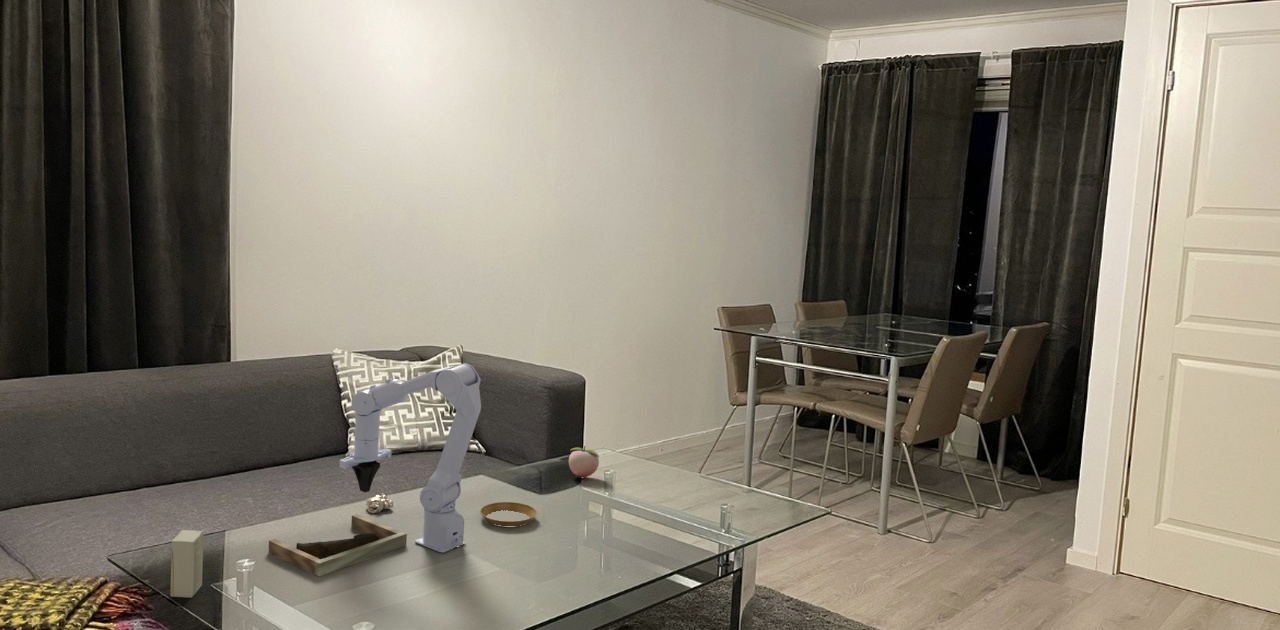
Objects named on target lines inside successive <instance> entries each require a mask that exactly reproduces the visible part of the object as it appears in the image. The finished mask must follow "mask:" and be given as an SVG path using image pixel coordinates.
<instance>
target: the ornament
mask: <svg viewBox="0 0 1280 630" xmlns="http://www.w3.org/2000/svg"><path fill="white" fill-rule="evenodd" d="M366 506H367V512H368V513H370V514H376V513H380V512H382V511H383V510H384V509H385V510H386V509H391V508H393V507H394V501H393V500H392V499H390V498H388V496H387V494H385V493H384V492H382V493H381V495H379V494H376V495H375V496H371V497H369V498H367V499H366Z"/></svg>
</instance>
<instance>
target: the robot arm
mask: <svg viewBox="0 0 1280 630" xmlns="http://www.w3.org/2000/svg"><path fill="white" fill-rule="evenodd" d="M481 381H482V380H481V377H480V376H479V374H478V372H477V370H476V369H475V368H474V366H473V365H471V364H469V363H461V364H459V365H457V366H456V365H451V366H447V367H442V368H438V369H434V370H431V371H429V372H426V373H423V374H421V375H418V376H416V377H413V378H411V379H408V380H406V381H402V380H400V379H397V378H396V379H394V378H392V377H391V378H387V379H385V382H383V383H381V384H379V385H376V384H373V385H370V386H369V388H368V389H365V390H362V391H361V390H359V391H358V392H356V393H355V394H354V395H353V396H352V398H351V401H350V402H351V403H350V404H351V407H352V410H353V411H354V413H355V420H354V422H355V423H354V450H353V452H352V454H350V455H349V456H347V457H344V458H342V459H339V467H338V468H339V469H343V470H347V469H349V468H352V470H353V472H354V474H355V477H356V479H357V483H358V484H357V485H358V488H359V491H360V492H363V493H369V492H370V490H371V487H372V484H373V481H374V478H375V476H376V474H377V473H378V471H379V469H380V468H381V463H380V462H378V461H380V460H383V459H391V458H392V452H393V451H392V449H388V448H383V449H379V447H380V446H379V445H380V444H379V443H380V424H381V423H380V422H381V421H380V420H381V418H380V417H381V416H382V415H381V413H382V410H384V409H387V408H388V407H392V406H395V405H397V404H401V403H403V402H405V401H406V400H407V399H408V395H409V394H412V393H416V392H420V391H421V390H425V389H428V388H429V389H430V388H431V390H433V391H435V392H436V391H438V392H439V393H440V394H441V395H442V396H443V397H444V398H445V400H447V401H448V402H449V404H451V406H453V408H454V409H455V415H454V418H453V421H452V424H451V426H450V429H449V432H448V435H447V438H446V441H445V444H444V447H443V450H442V452H441V455H440V458H439V461H438V465H437V467H436V469H435V471H434V472H433V473H432V475H431V476H430V478H429V479H428V482H427V484H426V486H424V487H423V488H422V489H421V491H420V494H419V500H420V504H421V506H422V507H423V509H424V512H423V515H424V516H423V530H422V531H423V532H422V533H423V535H422V537H421V538H418V539H415V540H414V543H416V544H418V545H421V546H423V547H426V548H428V549H430V550H433V551H435V552H439V553H440V552H441V554H443V553H446V551H447V552H449V551H451V550H450V549H452V548H455V547H457V546H460V545H463V544H465V545H466V541H464V535H465V534H464V533H465V518H464V516H463V515H462V514H460V512H458V511H457V509H456V500H457V499H458V498H460V496H461V492H462V488H461V481H462V479H463V477H462V475H461V474H460V471H461V468H462V465H463V463H464V460H465V458H466V457H465V456H466V453H467V451H468V447H469V445H470V442H471V440H472V438H473V433H474V431H475V428H476V424H477V422H478V419H479V416H480V413H481V412H482V411H481V409H482V401H481V392H480V384H481ZM463 546H464V545H463ZM460 547H461V546H460ZM457 548H458V547H457ZM455 549H456V548H455ZM448 550H449V551H448ZM452 550H453V549H452ZM442 552H443V553H442Z"/></svg>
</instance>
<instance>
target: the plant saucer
mask: <svg viewBox="0 0 1280 630" xmlns="http://www.w3.org/2000/svg"><path fill="white" fill-rule="evenodd" d="M501 510H503V511H504V510H505V511H506V510H508V511H514V512H519V513H523V514H526V515H527V516H529V519H526V520H521V521H499V520H494V519H490V518H487V517H486V516H487V515H488V514H491V513H492V512H496V511H501ZM479 513H480V515H481V516H482V518H483V519H484V520H485V521H488V524H490V523H492V524H496V525H501V526H520V525H523V526H525V525H524V524H526V525H528V523H530V522H531V521H532V520H534V518H535V517H536V516H537V514H538V512H537V509H536V508H534V507H533V506H531V505H529V504H525V503H521V502H513V501H499V502H493V503H489V504H485V505H483V506H482V507H481V508H480V510H479ZM492 524H491V525H492ZM520 527H521V526H520Z"/></svg>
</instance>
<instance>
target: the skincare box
mask: <svg viewBox="0 0 1280 630" xmlns="http://www.w3.org/2000/svg"><path fill="white" fill-rule="evenodd" d="M203 556H204V530H196V529H195V530H194V529H193V530H192V529H181V530H180V531H179V532H178V533H177V535H176V536H174V538H173V539H172V540H171V559H170V560H171V561H170V565H171V566H170V597H172V598H173V597H174V598H190V599H191V598H193V597H194V595H195V594H196V593H197V592H198V591H199V589H200V588H201V587H202V586H203V559H204V557H203Z"/></svg>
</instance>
